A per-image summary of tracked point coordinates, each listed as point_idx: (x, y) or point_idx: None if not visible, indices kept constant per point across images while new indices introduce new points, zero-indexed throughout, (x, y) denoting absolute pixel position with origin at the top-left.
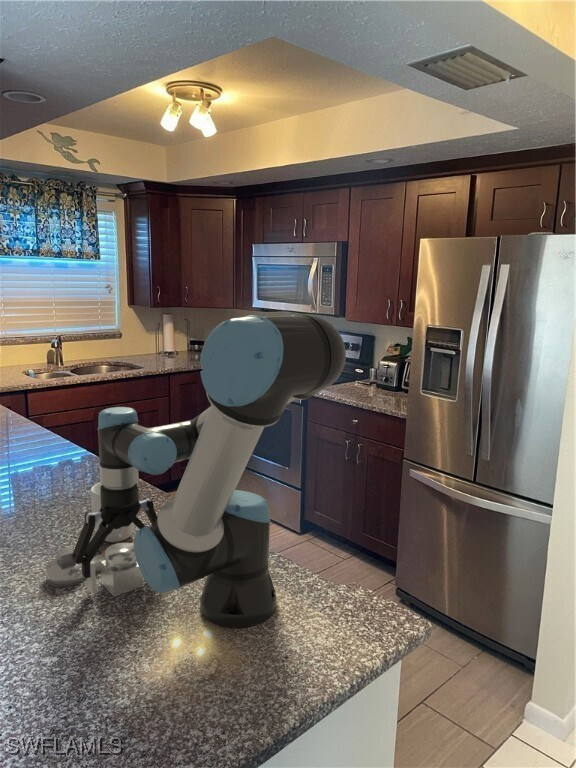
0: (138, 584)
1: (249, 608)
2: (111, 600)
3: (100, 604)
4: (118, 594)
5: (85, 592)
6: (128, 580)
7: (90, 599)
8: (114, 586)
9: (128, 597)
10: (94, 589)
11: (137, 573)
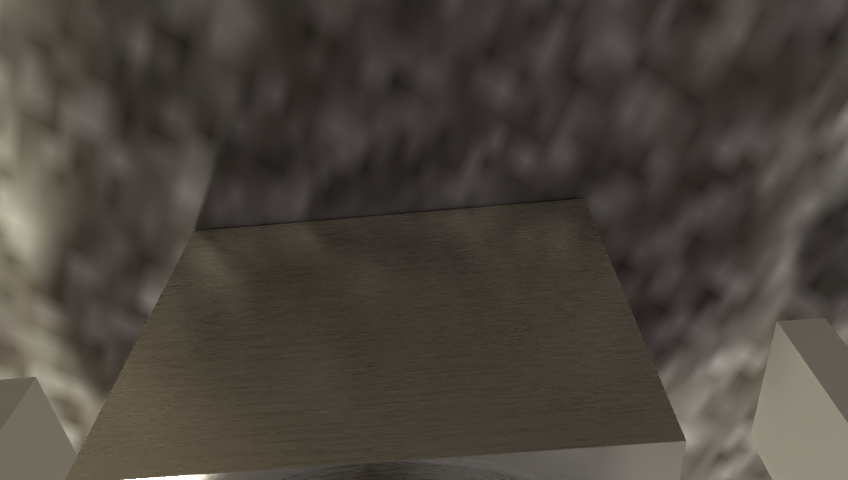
0: (245, 254)
1: None
2: (642, 143)
3: (792, 129)
4: (525, 208)
5: None
6: (380, 311)
7: (812, 278)
8: (605, 280)
9: (435, 97)
10: (816, 353)
11: (216, 368)
